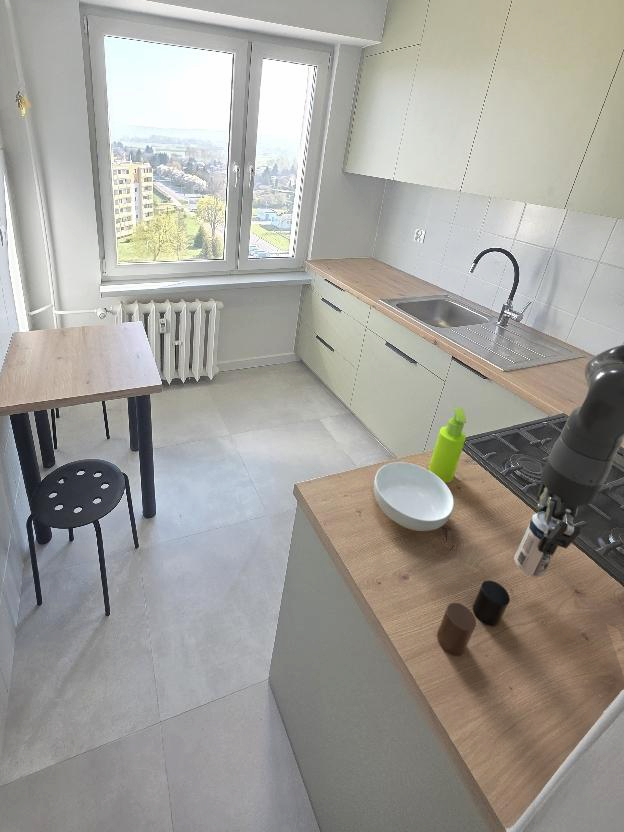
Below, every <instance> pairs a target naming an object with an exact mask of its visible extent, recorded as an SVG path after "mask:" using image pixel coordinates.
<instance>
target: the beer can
mask: <svg viewBox="0 0 624 832" xmlns="http://www.w3.org/2000/svg"><path fill="white" fill-rule="evenodd" d="M536 513H537V512H536ZM536 513H534V514H533V515H532V517H531V519H530V520H529V521H530V522H529V523H528V526H527V528H526V530H525V532H524V535H523V537H522V539H521V541H520V544H519V546H518V547H517V550H516V553H515V554H514V557H513V559H514V562H515V564H516V566H517V567H518V568H519V569H520V570H521V571H523V572H524V574H527V575H529V576H531V577H535V578H539V577H542V576H543V575H545V572H546V570H547V568H548V566H549V564H550V562H551V560H552V558H553V556H554V554H555V553H556V550H557V548H558V547H559V546H557V548H556V550H555V551H554V553H553V555H549V554H546V553H543V552H540V551H539V550H538V544H539V542H540V540H541V538H542V536H543V534H544V531H545V528H546V524H547V523H546V522H545V520H544V518H545V514H546V512H544V511H542V512H538V513H537V514H536ZM551 519H553V520H556V521H559V522H560V521H561V520H558V519H555V518H553V517H551ZM554 528H555V527H552V529H551V531H553V529H554Z"/></svg>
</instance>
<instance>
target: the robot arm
mask: <svg viewBox="0 0 624 832" xmlns="http://www.w3.org/2000/svg"><path fill="white" fill-rule="evenodd" d="M586 363H587V364H586V365H585V367H584V377H585V381H586V384H587V387H588V388H587V389H588V390H587V393H586V395H585V399H584V401H583V402H582V404H581V406H580V405H579V406H578V407H575V408H574V409H573V410H572V411H571V412H570V414H569V416H568V417H567V419H566V422H565V423H564V425H563V428H562V430H561V433H560V435H559V437H558V438H557V439H556V441H554V444H553V445H552V449H551V451H550V453H549V455H548V457H547V459H546V462H545V463H544V466H543V468H542V471H541V473H540V484H539V488H538V491H537V494H536V500H537V501H538V503H537V505H536V508H537V511H536V513H535V514H537V513H538V512H542V511H544V512H546V514H545V518H544V520H545V522H546V523H547V524H546V528H545V531H544V534H543V536H542V538H541V540H540V542H539V544H538V550H539V551H540V552H543V553H546V554H549V555H553V553H554V551H555V550H557V549H556V548H558V547H560V548H563V549H567V548H568V547H569V546H570V545H571V544H572V543H573V542H574V541H575V539H576V538H577V537H579V535H580V533H581V527H580V526H579V525H575V524H574V518H575V517H576V516H577V514H578V511H579V507H580V506H585V505H586V506H587V505H590V504H592V503H594V502H595V500H596V499H597V497H598V494H599V493H600V491H601V489H602V487H603V485H604V483H605V481H606V479H607V477H608V476H609V474H610V471H611V469H612V467H613V463H614V459H615V458H616V456H617V453H618V452H619V449H620V447H621V446H622V445H623V444H622V443H623V442H624V344H621V345H617V346H614V347H611V348H608V349H606V350H604V351H602V352H600V353H598V354H596V355H595V356H593V357H592V358H591V359H590V360H589V361H588V362H586ZM551 517H553V518H555V519H558V520H560V522H559V521H556V520H553V519H551ZM552 527H555V528H554V529H553V531H551V529H552ZM557 546H558V547H557ZM555 552H556V551H555ZM554 554H555V553H554ZM553 556H554V555H553Z"/></svg>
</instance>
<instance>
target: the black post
mask: <svg viewBox="0 0 624 832" xmlns="http://www.w3.org/2000/svg"><path fill="white" fill-rule="evenodd" d="M510 601H511V599H510V595H509V593H508V591H507V590H506V589H505V588H504V586H503V585H501V584H500V583H498V582H496V581H493V580H484V581H483V582H482V583H481V586H480V588H479V590H478V593H477V596H476V597H475V599H474V602H473V604H472V611H473V615H474V616H475V618H477V619H478V621H480V622H481V623H482V624H483V625H486V626H488V627H497V626H499V625H500V622H501V621H502V619H503V616H504V614H505V612H506V610H507V608H508V606H509V604H510Z"/></svg>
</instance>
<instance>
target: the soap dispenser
mask: <svg viewBox="0 0 624 832" xmlns="http://www.w3.org/2000/svg"><path fill="white" fill-rule="evenodd" d="M453 411H454V415H453V417H450V418H449V419H448V422H447V424H446V425H444V426H442V427H440V429H439V431H438V434H437V439H436V442H435V445H434V449H433V452H432V456H431V459H430V463H429V467H428V469H427V470H429V471H431V472H432V473H434V474H435V475H436V476H438V477H439V478H440V479H441V480H442V481H443V482H444V483H451V482H452V481H453V479H454V477H455V473H456V470H457V467H458V464H459V460H460V458H461V454H462V452H463V448H464V445H465V442H466V438H467V436H466V434H465V433H464V432H463V429H464V426H465V424H466V423H467V419H466V414H465V410H464V408H461V407H454V409H453Z"/></svg>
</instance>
